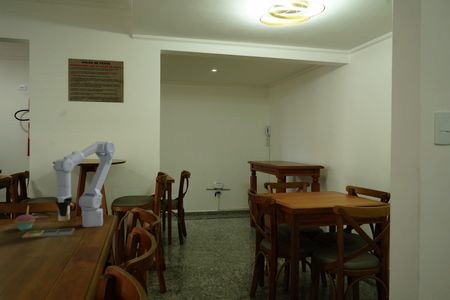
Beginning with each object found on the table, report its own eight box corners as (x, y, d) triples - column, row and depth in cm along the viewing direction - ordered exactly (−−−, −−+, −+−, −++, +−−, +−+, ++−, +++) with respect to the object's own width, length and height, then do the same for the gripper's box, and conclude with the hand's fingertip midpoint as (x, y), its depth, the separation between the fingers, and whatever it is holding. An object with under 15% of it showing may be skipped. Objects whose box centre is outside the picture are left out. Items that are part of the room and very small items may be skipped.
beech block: (69, 218, 150) (69, 205, 149) (68, 220, 146) (67, 207, 146) (60, 219, 149) (60, 206, 148) (58, 221, 145) (58, 207, 144)
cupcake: (39, 227, 160) (38, 203, 160) (27, 231, 152) (27, 206, 151) (22, 227, 161) (22, 203, 160) (10, 231, 152) (9, 206, 152)
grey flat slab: (75, 231, 153) (75, 228, 153) (71, 236, 144) (71, 233, 144) (27, 234, 147) (27, 231, 147) (20, 240, 138) (20, 237, 138)
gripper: (57, 183, 153) (58, 212, 153) (50, 188, 139) (50, 219, 139) (74, 183, 155) (74, 211, 155) (68, 187, 141) (68, 218, 141)
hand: (64, 215), depth 147 cm, fingers closed on beech block, 4 cm apart
